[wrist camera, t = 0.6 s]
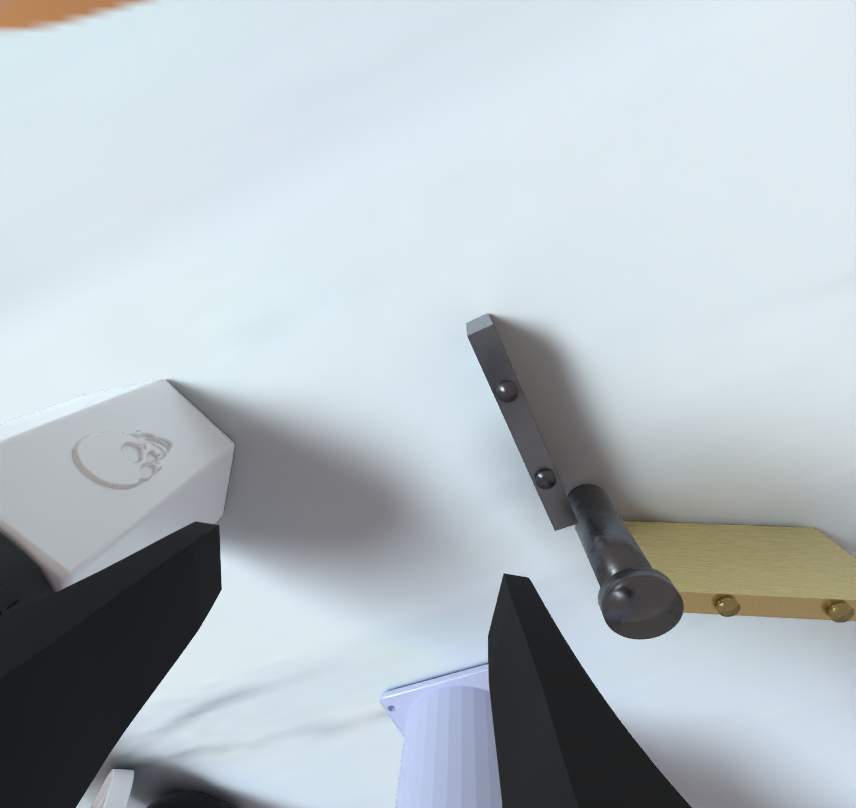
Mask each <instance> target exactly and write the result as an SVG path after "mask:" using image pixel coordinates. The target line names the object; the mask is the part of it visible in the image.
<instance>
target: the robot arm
mask: <svg viewBox="0 0 856 808" xmlns="http://www.w3.org/2000/svg"><path fill="white" fill-rule="evenodd" d="M221 590H222V587H221V560H220V534H219V525H215V524H209V523H203V522H197V521H195V522H193V523H191V524H189V525H187V526H185V527H183V528H181V529H179V530H177V531H175V532H173V533H171V534H169V535H167V536H165V537H164V538H162V539H160V540H158V541H156V542H154V543H152V544H150V545H149V546H147V547H145V548H143V549H141V550H139V551H137V552H135V553H133V554H131V555H130V556H128V557H126V558H124V559H122V560H120V561H118V562H116V563H114V564H112V565H110V566H108V567H107V568H105V569H103V570H101V571H99V572H97V573H95V574H93V575H91V576H88V577H86V578H84V579H82V580H80V581H78V582H76V583H74V584H72V585H70V586H68V587H66V588H64V589H62V590H60V591H58V592H55V593H53V594H51V595H49V596H47V597H45V598H43V599H41V600H39V601H37V602H34V603H32V604H30V605H28V606H26V607H23V608H21V609H19V610H16V611H14V612H12V613H10V614H7V615H5V616H3V617H0V808H76V806H77V805H78V803H79V801H80V800H81V798H82V797H83V795H84V793H85V792H86V790H87V789H88V787H89V785H90V784H91V782H92V781H93V779H94V777H95V776H96V774H97V773H98V771H99V769H100V768H101V766H102V765H103V763H104V761H105V760H106V758H107V757H108V755H109V753H110V752H111V750H112V749H113V748H114V746H115V745H116V743H117V742H118V740H119V739H120V737H121V736H122V734H123V733H124V732H125V730H126V729H127V727H128V726H129V725H130V723H131V722H132V720H133V719H134V718H135V716H136V715H137V714H138V712H139V711H140V710H141V708H142V707H143V705H144V704H145V703H146V701H147V700H148V699H149V697H150V696H151V695H152V693H153V692H154V691H155V689H156V688H157V686H158V685H159V684H160V682H161V681H162V680H163V678H164V677H165V676H166V674H167V673H168V671H169V670H170V669H171V667H172V666H173V665H174V663H175V662H176V661H177V659H178V658H179V656H180V655H181V654H182V652H183V651H184V649H185V648H186V647H187V645H188V644H189V643H190V641H191V640H192V638H193V637H194V636H195V634H196V633H197V631H198V630H199V628H200V627H201V625H202V623H203V621H204V620H205V618H206V616H207V615H208V613H209V611H210V609H211V608H212V606H213V604H214V602H215V600H216V599H217V597H218V595H219V593H220V591H221ZM380 703H381V705H382V706H383V708H384V709H385V711H386V712H387V714H388V715H389V717H390V718H391V719H392V721H393V722H394V724H395V725H396V727H397V728H398V729H399V731H400V732H401V734H402V735H403V737H404V740H403V748H402V756H401V765H400V773H399V781H398V789H397V798H396V806H395V808H692V807H691V806H690V805H689V804H688V803H687V802H686V801H685V799H684V798H683V797H682V796H681V795H680V794H679V793H678V792H677V790H676V789H675V788H674V787H673V786H672V785H671V784H670V782H669V781H668V780H667V779H666V778H665V777H664V775H663V774H662V773H661V772H660V771H659V769H658V768H657V767H656V766H655V765H654V763H653V762H652V761H651V760H650V758H649V757H648V756H647V755H646V753H645V752H644V751H643V750H642V748H641V747H640V746H639V745H638V743H637V742H636V741H635V740H634V738H633V737H632V736H631V734H630V733H629V732H628V731H627V729H626V728H625V727H624V725H623V724H622V723H621V721H620V720H619V719H618V717H617V716H616V714H615V713H614V712H613V710H612V709H611V708H610V706H609V705H608V703H607V702H606V701H605V699H604V698H603V696H602V695H601V693H600V692H599V691H598V689H597V688H596V686H595V685H594V683H593V682H592V681H591V679H590V678H589V676H588V675H587V673H586V672H585V670H584V669H583V667H582V666H581V664H580V662H579V661H578V659H577V658H576V656H575V655H574V653H573V651H572V650H571V648H570V647H569V645H568V644H567V642H566V640H565V639H564V637H563V635H562V634H561V632H560V631H559V629H558V627H557V626H556V624H555V622H554V620H553V619H552V617H551V615H550V614H549V612H548V610H547V608H546V607H545V605H544V603H543V601H542V600H541V598H540V596H539V594H538V593H537V591H536V589H535V587H534V585H533V584H532V582H531V581H530V579H529V578H527V577H521V576H516V575H510V574H504V575H503V579H502V583H501V587H500V591H499V595H498V599H497V603H496V607H495V611H494V615H493V619H492V623H491V627H490V631H489V635H488V664H486V665H482V666H478V667H475V668H471V669H467V670H464V671H460V672H456V673H453V674H449V675H446V676H442V677H438V678H435V679H431V680H427V681H424V682H420V683H416V684H413V685H409V686H405V687H402V688H398V689H394V690H391V691H387V692H384V693H383V694H382V695H381V699H380Z"/></svg>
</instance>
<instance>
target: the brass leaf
mask: <svg viewBox="0 0 856 808" xmlns="http://www.w3.org/2000/svg"><path fill="white" fill-rule="evenodd" d="M623 522H624V523H625V525H626V526H627V528H628V530H629V531H630V533H631V534H632V536H633V538H634V539H635V541H636V542H637V544H638V546H639V547H640V549H641V551H642V552H643V554H644V555H645V557H646V559H647V560H648V562H649V563H650V565H651V567H652V568H653V569H655V570H658V571H660V572H662V573H663V574H665V575H666V576H667V577H668V578H669V579H670V580H671V582H672V583H673V585H674V586H675V588H676V589H677V591H678V592H679V594H680V595H681V597H682V600H683V604H684V610H683V613H703V614H720V615H722V616H725V617H730V616H734V615H742V616H762V617H782V618H802V619H821V620H833V621H835V622H846V621H856V558H855V557H853V556H852V555H851V554H849V553H848V552H847V551H845V550H844V549H843V548H841V547H840V546H839V545H837V544H836V543H835V542H833V541H832V540H831V539H829V538H828V537H827V536H825V535H824V534H823V533H821V532H820V531H819V530H817V529H816V528H808V527H779V526H750V525H721V524H692V523H663V522H634V521H623Z"/></svg>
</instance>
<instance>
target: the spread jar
mask: <svg viewBox="0 0 856 808" xmlns="http://www.w3.org/2000/svg"><path fill="white" fill-rule="evenodd" d="M133 779H134V770H126V769H112V770H111V771H110V773H109V774H108V775H107V777H106V779H105V781H104V782H103V784H102V786H101V788H100V790H99V792H98V794H97V796H96V798H95V800H94V802H93V804H92V807H91V808H126V806H127V803H128V799H129V796H130V792H131V788H132V784H133ZM146 808H233V807H232V806H230V805H229V804H227V803H226V802H224V801H222V800H221V799H219V798H216V797H214V796H211V795H208V794H205V793H201V792H195V791H180V792H175V793H171V794H168V795H165V796H162V797H160V798H158V799H156V800H154V801H153V802H151V803H150V804H149V805H148V806H147V807H146Z"/></svg>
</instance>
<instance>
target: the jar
mask: <svg viewBox="0 0 856 808" xmlns="http://www.w3.org/2000/svg"><path fill="white" fill-rule="evenodd" d="M234 448H235V444H234V442H233V441H232V440H230V439H229V438H228V437H227V436H226V435H225V434H224V433H223V432H222V431H221V430H220V429H218V428H217V427H216V426H215V425H214V424H213V423H212V422H211V421H210V420H209V419H208V418H206V417H205V416H204V415H203V414H202V413H201V412H200V411H199V410H198V409H197V408H196V407H194V406H193V405H192V404H191V403H190V402H189V401H188V400H187V399H186V398H185V397H184V396H182V395H181V394H180V393H179V392H178V391H177V390H176V389H175V388H174V387H173V386H172V385H171V384H169V383H168V382H167V381H166V380H164V379H157V380H152V381H147V382H142V383H137V384H133V385H128V386H123V387H118V388H113V389H108V390H104V391H99V392H94V393H89V394H84V395H81V396H78V397H75V398H72V399H70V400H67V401H64V402H61V403H58V404H55V405H53V406H50V407H47V408H44V409H41V410H38V411H35V412H33V413H30V414H27V415H24V416H21V417H18V418H15V419H13V420H10V421H7V422H4V423H1V424H0V617H3V616H5V615H7V614H10V613H12V612H14V611H16V610H19V609H21V608H23V607H26V606H28V605H30V604H32V603H34V602H37V601H39V600H41V599H43V598H45V597H47V596H49V595H51V594H53V593H55V592H58V591H60V590H62V589H64V588H66V587H68V586H70V585H72V584H74V583H76V582H78V581H80V580H82V579H84V578H86V577H88V576H91V575H93V574H95V573H97V572H99V571H101V570H103V569H105V568H107V567H108V566H110V565H112V564H114V563H116V562H118V561H120V560H122V559H124V558H126V557H128V556H130V555H131V554H133V553H135V552H137V551H139V550H141V549H143V548H145V547H147V546H149V545H150V544H152V543H154V542H156V541H158V540H160V539H162V538H164V537H165V536H167V535H169V534H171V533H173V532H175V531H177V530H179V529H181V528H183V527H185V526H187V525H189V524H191V523H193V522H195V521H197V522H203V523H209V524H215V523H216V522H217V521H218V520H219V519H220V518H221V517H222V515H223V512H224V506H225V501H226V495H227V489H228V483H229V477H230V471H231V466H232V460H233V454H234Z"/></svg>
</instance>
